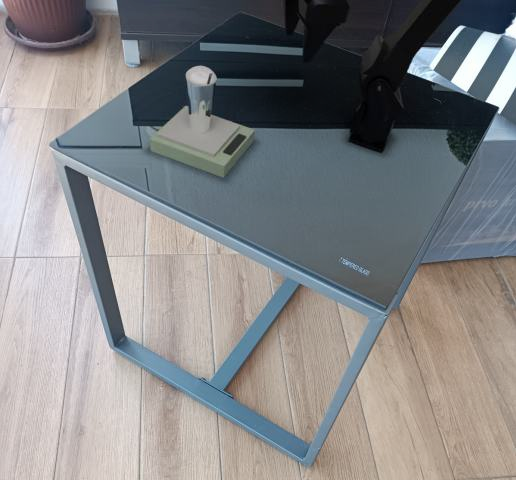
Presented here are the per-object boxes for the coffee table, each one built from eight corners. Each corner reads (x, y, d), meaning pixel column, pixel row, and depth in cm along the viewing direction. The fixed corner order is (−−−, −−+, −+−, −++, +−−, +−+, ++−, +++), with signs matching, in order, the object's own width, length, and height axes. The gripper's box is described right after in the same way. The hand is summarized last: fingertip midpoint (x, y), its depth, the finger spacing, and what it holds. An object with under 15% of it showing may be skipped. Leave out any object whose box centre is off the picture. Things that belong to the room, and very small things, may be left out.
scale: (253, 141, 84) (255, 126, 82) (223, 178, 77) (224, 162, 75) (185, 117, 86) (185, 101, 84) (150, 151, 79) (149, 134, 77)
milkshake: (194, 140, 78) (196, 75, 70) (181, 122, 80) (180, 57, 72) (220, 135, 79) (225, 71, 71) (206, 118, 82) (209, 54, 74)
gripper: (244, -104, 69) (234, 20, 81) (280, -57, 59) (263, 77, 71) (318, -97, 72) (298, 22, 84) (365, -50, 62) (334, 77, 74)
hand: (297, 48), depth 78 cm, fingers open, 9 cm apart
